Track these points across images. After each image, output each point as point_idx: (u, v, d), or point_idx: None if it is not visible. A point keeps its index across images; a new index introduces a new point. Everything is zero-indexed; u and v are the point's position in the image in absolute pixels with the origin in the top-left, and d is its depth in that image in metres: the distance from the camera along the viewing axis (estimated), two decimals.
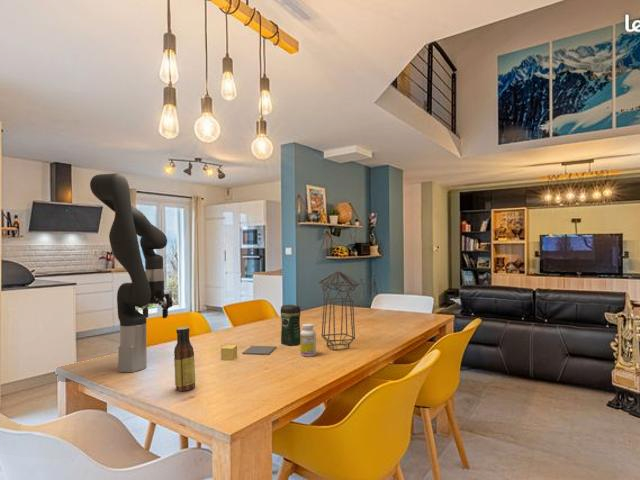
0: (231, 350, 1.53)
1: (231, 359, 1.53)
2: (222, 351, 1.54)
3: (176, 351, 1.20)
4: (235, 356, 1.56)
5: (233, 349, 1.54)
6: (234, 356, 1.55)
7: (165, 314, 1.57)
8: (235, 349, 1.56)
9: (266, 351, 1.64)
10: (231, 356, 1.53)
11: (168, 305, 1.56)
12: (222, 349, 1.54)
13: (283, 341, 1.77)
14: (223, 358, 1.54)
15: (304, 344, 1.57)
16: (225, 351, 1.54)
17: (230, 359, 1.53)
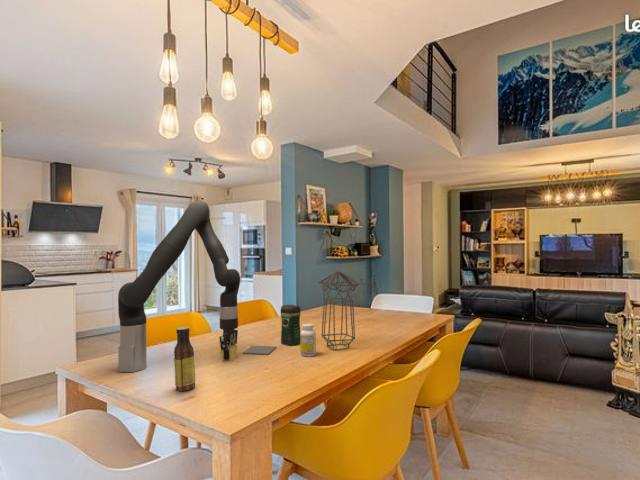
0: (231, 350, 1.53)
1: (231, 359, 1.53)
2: (222, 350, 1.54)
3: (176, 351, 1.20)
4: (235, 356, 1.56)
5: (233, 349, 1.54)
6: (234, 356, 1.55)
7: None
8: (235, 349, 1.56)
9: (266, 351, 1.64)
10: (231, 356, 1.53)
11: (236, 341, 1.61)
12: None
13: (283, 341, 1.77)
14: (223, 358, 1.54)
15: (304, 344, 1.57)
16: None
17: (230, 359, 1.53)
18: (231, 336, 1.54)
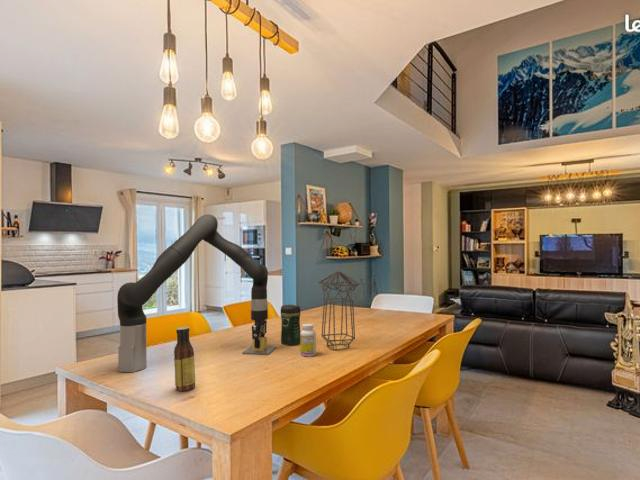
0: (262, 341, 1.65)
1: (262, 349, 1.65)
2: (253, 342, 1.65)
3: (176, 351, 1.20)
4: (265, 347, 1.68)
5: (264, 340, 1.66)
6: (264, 347, 1.67)
7: None
8: (265, 340, 1.67)
9: (266, 351, 1.64)
10: (262, 347, 1.65)
11: (266, 330, 1.73)
12: (253, 340, 1.65)
13: (283, 341, 1.77)
14: (254, 348, 1.65)
15: (304, 344, 1.57)
16: None
17: (261, 349, 1.65)
18: (262, 326, 1.65)
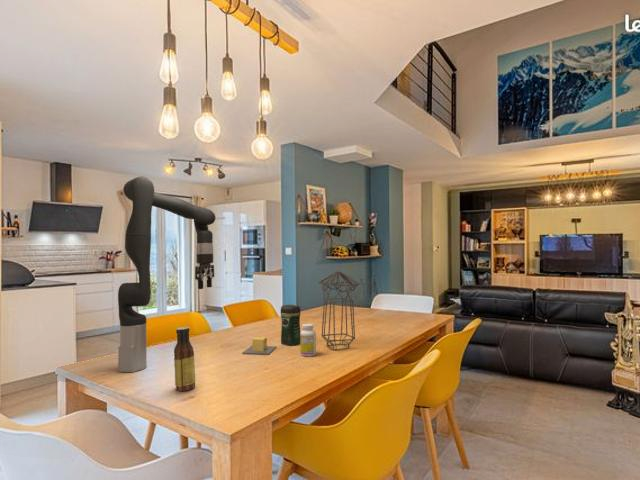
0: (262, 341, 1.65)
1: (262, 349, 1.65)
2: (253, 342, 1.65)
3: (176, 351, 1.20)
4: (265, 347, 1.68)
5: (264, 340, 1.66)
6: (264, 347, 1.67)
7: None
8: (265, 340, 1.67)
9: (266, 351, 1.64)
10: (262, 347, 1.65)
11: (213, 275, 1.79)
12: (253, 340, 1.65)
13: (283, 341, 1.77)
14: (254, 348, 1.65)
15: (304, 344, 1.57)
16: (256, 342, 1.65)
17: (261, 349, 1.65)
18: (206, 269, 1.70)
